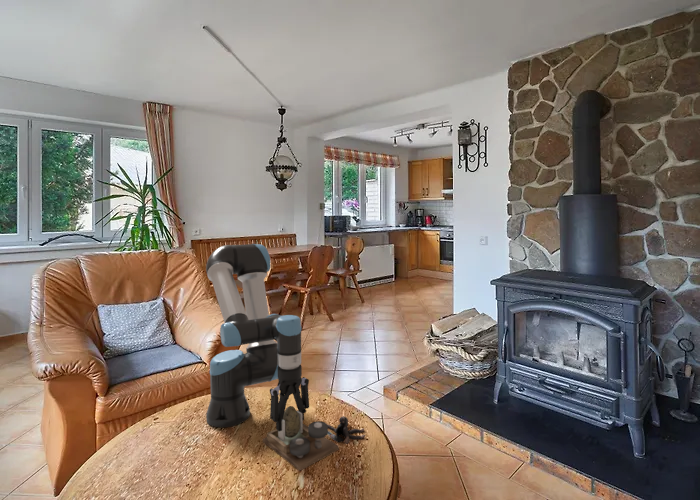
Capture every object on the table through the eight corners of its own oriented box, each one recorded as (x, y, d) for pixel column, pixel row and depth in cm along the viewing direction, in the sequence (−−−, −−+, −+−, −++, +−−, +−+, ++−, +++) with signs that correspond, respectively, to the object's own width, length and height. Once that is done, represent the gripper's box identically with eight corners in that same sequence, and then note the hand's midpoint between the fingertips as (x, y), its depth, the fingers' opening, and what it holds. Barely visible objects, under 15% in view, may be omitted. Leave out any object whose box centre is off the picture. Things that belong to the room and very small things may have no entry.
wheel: (304, 432, 123) (304, 424, 122) (319, 425, 127) (319, 417, 126) (316, 440, 118) (316, 431, 118) (331, 433, 122) (331, 424, 122)
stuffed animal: (364, 442, 126) (333, 419, 127) (347, 464, 127) (316, 442, 128) (368, 422, 137) (339, 402, 138) (352, 443, 139) (324, 423, 140)
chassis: (262, 442, 128) (262, 424, 127) (300, 425, 138) (300, 408, 137) (299, 470, 113) (299, 450, 113) (338, 449, 123) (338, 431, 123)
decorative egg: (283, 443, 123) (283, 412, 122) (279, 433, 128) (279, 404, 127) (302, 439, 125) (302, 408, 124) (297, 430, 130) (297, 400, 130)
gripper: (269, 377, 115) (271, 452, 117) (320, 360, 128) (321, 428, 130) (256, 369, 121) (258, 442, 123) (306, 354, 134) (307, 420, 136)
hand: (290, 435), depth 126 cm, fingers open, 6 cm apart
